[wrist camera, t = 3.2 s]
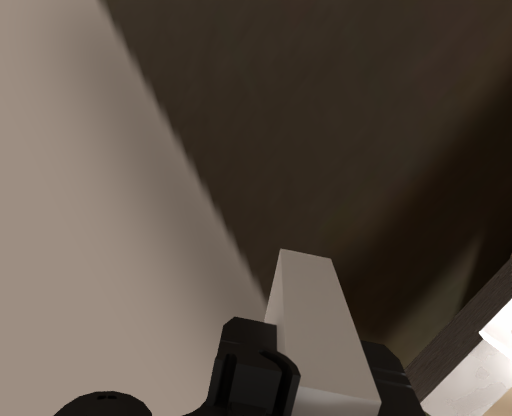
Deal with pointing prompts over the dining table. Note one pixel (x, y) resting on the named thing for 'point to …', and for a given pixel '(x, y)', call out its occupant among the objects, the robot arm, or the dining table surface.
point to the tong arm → (469, 355)
